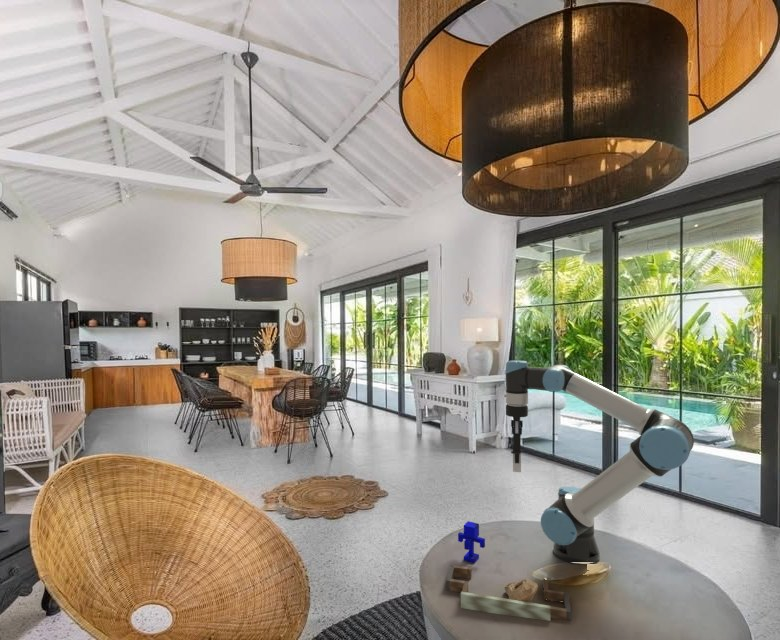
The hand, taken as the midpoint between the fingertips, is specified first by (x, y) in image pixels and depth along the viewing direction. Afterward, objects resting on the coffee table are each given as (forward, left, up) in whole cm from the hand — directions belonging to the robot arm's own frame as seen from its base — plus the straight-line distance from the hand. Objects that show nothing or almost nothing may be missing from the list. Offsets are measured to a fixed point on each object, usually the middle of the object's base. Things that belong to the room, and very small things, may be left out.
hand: (517, 471), depth 163 cm
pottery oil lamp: (-1, +28, -30) cm, 41 cm away
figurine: (+15, +7, -30) cm, 34 cm away
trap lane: (+3, +22, -29) cm, 37 cm away
